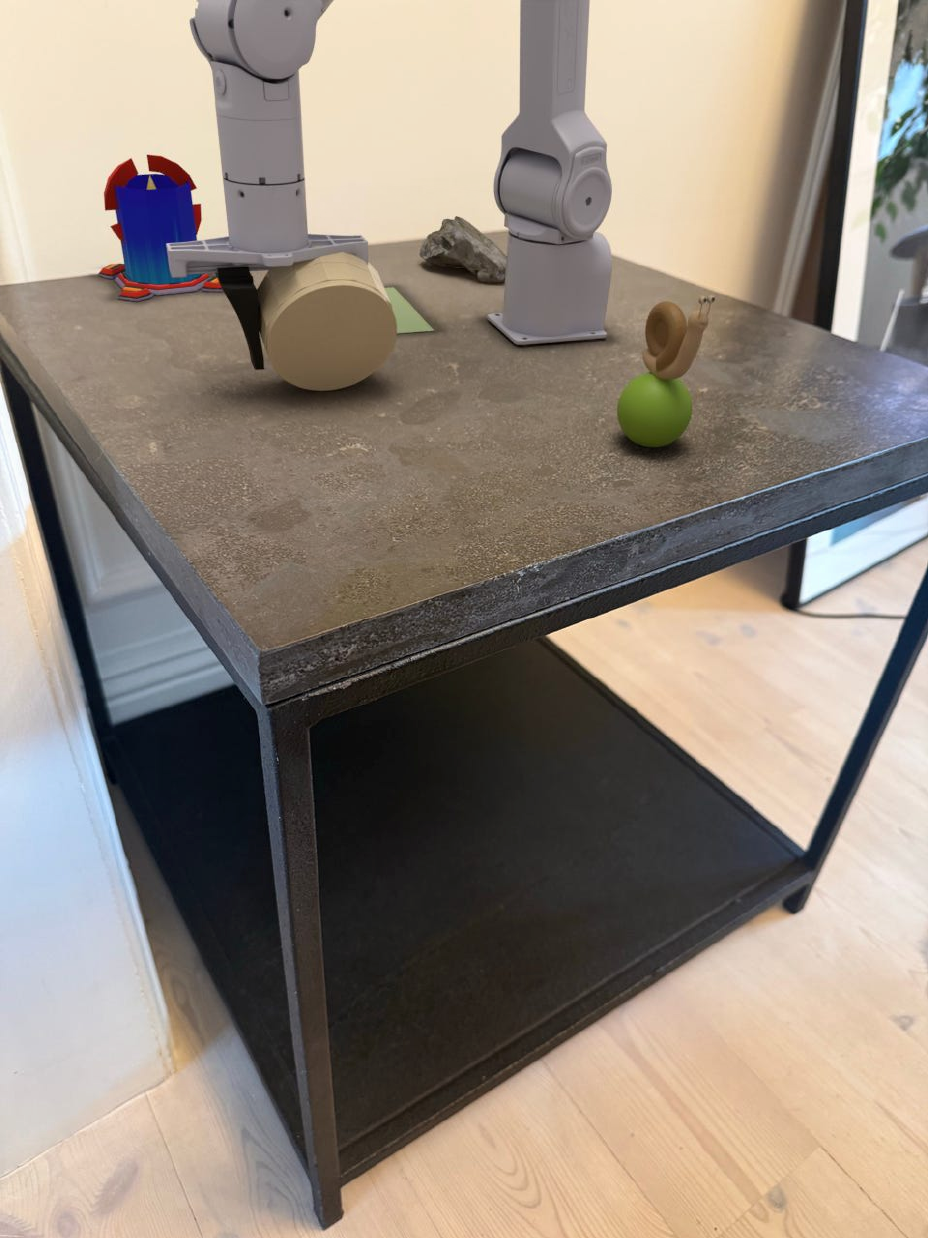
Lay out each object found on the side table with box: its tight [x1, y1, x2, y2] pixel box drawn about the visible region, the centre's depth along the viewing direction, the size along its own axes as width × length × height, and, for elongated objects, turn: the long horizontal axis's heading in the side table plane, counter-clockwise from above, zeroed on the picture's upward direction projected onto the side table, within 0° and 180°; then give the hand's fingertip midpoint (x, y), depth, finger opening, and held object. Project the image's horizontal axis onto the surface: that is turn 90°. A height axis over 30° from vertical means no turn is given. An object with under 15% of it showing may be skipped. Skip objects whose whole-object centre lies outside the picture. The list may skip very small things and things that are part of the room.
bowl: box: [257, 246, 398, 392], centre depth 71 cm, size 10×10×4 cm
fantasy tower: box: [97, 154, 224, 303], centre depth 93 cm, size 12×12×12 cm
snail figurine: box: [616, 294, 716, 448], centre depth 65 cm, size 5×6×12 cm
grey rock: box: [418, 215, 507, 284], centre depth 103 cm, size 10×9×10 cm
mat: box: [384, 286, 435, 335], centre depth 90 cm, size 14×14×1 cm
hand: (278, 363), depth 73 cm, fingers closed on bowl, 3 cm apart
